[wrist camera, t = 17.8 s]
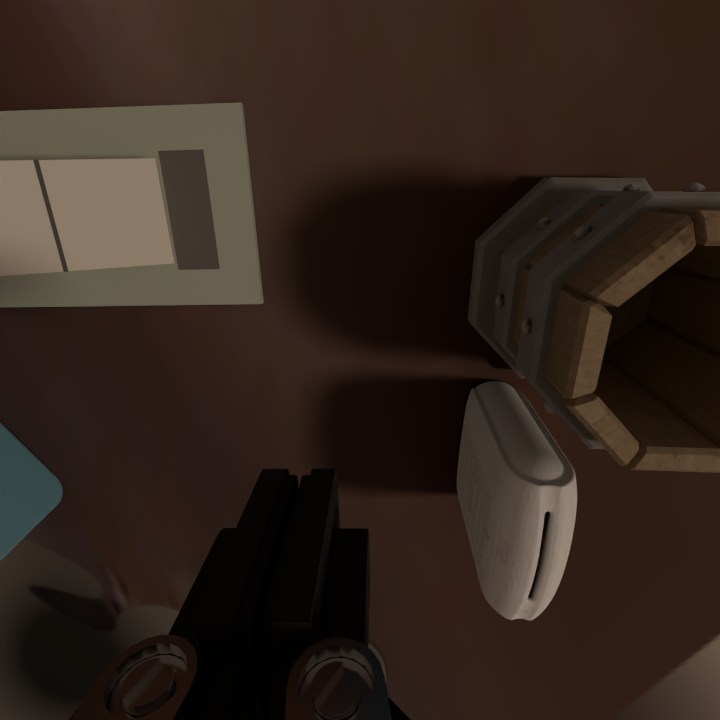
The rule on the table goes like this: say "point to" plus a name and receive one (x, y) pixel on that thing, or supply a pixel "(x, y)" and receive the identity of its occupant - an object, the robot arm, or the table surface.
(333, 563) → the robot arm
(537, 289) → the tankard
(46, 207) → the domino
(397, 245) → the table surface
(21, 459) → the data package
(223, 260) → the domino mat
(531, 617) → the photo printer
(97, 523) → the table surface
